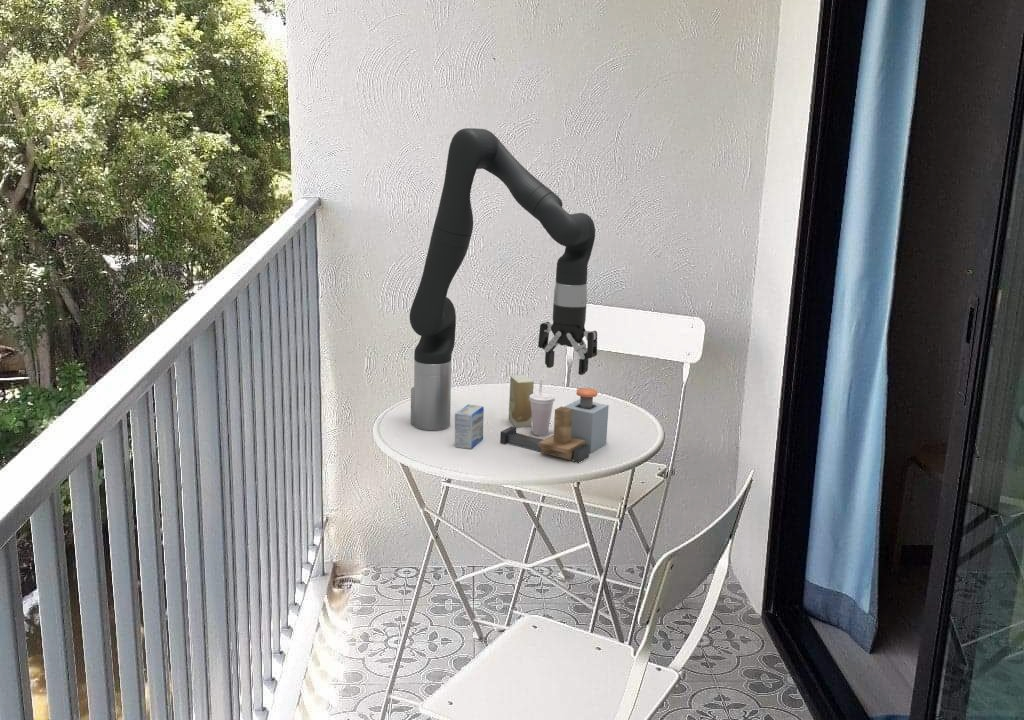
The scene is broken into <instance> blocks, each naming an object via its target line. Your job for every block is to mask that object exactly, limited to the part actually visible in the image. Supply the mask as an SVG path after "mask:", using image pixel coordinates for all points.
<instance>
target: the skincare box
mask: <svg viewBox="0 0 1024 720" xmlns="http://www.w3.org/2000/svg"><path fill="white" fill-rule="evenodd" d="M509 380H510V383H509V398H508V399H509V403H508V406H509V407H508V418H507V419H508V421H509V422H510V423H511V424H512V425H513V427H516V428H525V427H526V428H527V427H531V426H532V414H531V401H530V400H529V396H530V395H531V394H533V393H534V385H535V384H534V380H532V379H531V378H530V377H529V376H528V375H526V374H519V375H517V374H515V375H510V379H509Z"/></svg>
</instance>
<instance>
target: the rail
mask: <svg viewBox="0 0 1024 720" xmlns="http://www.w3.org/2000/svg"><path fill="white" fill-rule="evenodd" d="M499 433H500V435H499V442H500V445H501V444H502V445H507V444H508V445H512V446H515V447H520V448H524V449H528V450H530V451H531V450H532V451H536V452H540V453H541V447H539V442H541V441H543V440H544V439H543V438H539V437H534V436H530V435H528V434H523V433H522V434H521V433H518V432H517V427H515V426H514V425H513V426H509V427H507V428H505V429H503V430H501V431H500V432H499ZM589 447H590V445H587V444H583V445H582V446H580V447H578V448H576V449H575V450H574V451H573V455H572V459H571V460H570V461H573V463H575V462H577V463H576V464H580V463H582V462H583V461H585V460H586V458H587V459H588V458H590V453H589ZM584 459H585V460H584ZM581 461H582V462H581ZM579 462H580V463H579Z"/></svg>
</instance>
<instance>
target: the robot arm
mask: <svg viewBox="0 0 1024 720" xmlns="http://www.w3.org/2000/svg"><path fill="white" fill-rule="evenodd" d="M511 153H512V152H510V151H509V150H508V148H507V147H506V146H505V145H504V144H503V143H502V141H501V140H500V139H499V138H498V137H497V136H496V135H495V134H494V133H493V132H492V131H490V130H487V129H485V128H476V127H475V128H473V127H471V128H469V127H468V128H466V127H465V128H461V129H459V130H458V131H457V132H456V133H455V134H454V135H453V137H452V138H451V142H450V144H449V147H448V152H447V159H446V160H447V161H446V167H445V175H444V181H443V186H442V191H441V195H440V199H439V205H438V208H437V213H436V216H435V221H434V224H433V228H432V232H431V235H430V236H431V237H430V240H429V241H430V242H429V246H428V248H427V249H428V250H427V253H426V258H425V263H424V266H423V272H422V274H421V278H420V282H419V285H418V287H417V291H416V293H415V296H414V298H413V302H412V304H411V307H410V311H409V323H410V325H411V328H412V330H413V332H414V333H416V334H417V335H418V336H419V337H420V339H419V341H418V344H417V345H416V347H415V348H414V352H413V354H414V355H413V356H414V357H413V359H414V360H413V361H414V362H413V363H414V366H413V375H414V376H413V379H414V380H413V387H411V389H410V425H413V426H414V427H415V428H416V429H419V430H424V431H439V430H441V431H442V430H445V429H447V428H449V427H451V406H452V404H451V403H452V401H451V400H452V397H451V396H452V395H451V394H452V391H451V390H452V387H451V386H452V355H453V351H454V348H455V344H456V342H455V341H456V326H457V325H456V324H457V316H456V315H457V314H456V307H455V305H454V303H453V301H452V300H451V299H450V298H448V295H447V294H448V292H449V288H450V285H451V282H452V281H453V280H454V277H455V276H456V273H457V272H458V270H459V268H460V266H461V265H462V263H463V262H464V259H465V258H466V255H467V252H468V249H469V246H470V243H471V239H472V235H473V231H474V216H473V208H472V202H471V201H472V200H471V194H472V193H471V192H472V185H473V183H474V179H475V175H476V172H477V170H481V169H482V170H485V171H487V172H488V173H490V174H491V175H493V176H495V177H496V178H497V179H499V180H500V181H501V182H502V183H503V184H504V185H505V186H506V189H508V191H509V193H510V194H511V195H512V197H513V199H514V200H515V201H516V203H517V204H519V205H520V206H521V208H523V209H524V210H525V211H526V212H527V213H528V214H530V215H531V216H532V217H533V218H535V219H536V220H537V221H538V222H540V224H541V226H542V228H544V230H545V231H546V233H547V234H548V235H549V236H550V237H551V239H552V240H553V241H555V243H557V244H559V245H561V246H563V247H565V249H564V253H563V254H562V255H561V256H560V257H559V258H558V259H557V262H556V271H555V272H556V273H555V285H554V289H553V302H552V303H553V305H552V321H553V322H552V323H550V322H549V321H545V322H542V323H540V325H539V335H538V341H537V344H538V345H537V347H538V349H542V350H544V351H545V353H544V354H545V355H544V364H545V366H546V368H548V369H550V368H553V367H554V366H555V351H556V350H555V348H556V347H558V345H560V346H566V347H570V348H573V349H574V351H575V352H577V354H578V356H579V359H578V360H579V361H578V375H580V376H582V375H585V374H586V373H587V372H588V370H589V368H588V367H589V360H590V359H592V358H594V357H597V355H598V332H597V330H592V331H590V330H586V328H585V327H586V326H585V324H586V321H587V319H586V317H587V304H588V286H587V285H588V284H587V283H588V282H587V281H588V267H589V266H588V264H589V261H590V258H591V255H592V251H593V247H594V245H595V240H596V227H595V223H594V220H593V218H592V217H591V216H590V215H588V214H587V213H584V212H577V213H572V214H570V213H569V212H568V211H566V210H565V209H564V207H563V202H562V199H561V197H560V196H558V195H557V194H556V193H555V192H554V191H553V190H551V189H550V188H549V187H548V186H547V185H546V184H544V183H543V182H541V181H540V180H539V179H538V178H536V177H535V176H534V175H533V174H532V173H531V172H529V171H528V170H527V168H525V166H523V165H522V164H521V163H520V162H519V161H518V160H517V159H516V157H514V155H512V154H511ZM550 332H552V334H553V337H552V338H551V339H550V341H549V337H550ZM584 337H585V340H586V342H587V344H586V343H585V341H584V339H583V338H584Z"/></svg>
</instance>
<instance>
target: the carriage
mask: <svg viewBox="0 0 1024 720" xmlns="http://www.w3.org/2000/svg"><path fill="white" fill-rule="evenodd" d="M553 421H554V422H553V423H554V424H553V434H552V435H550V436H548V437H546V438H545V439H543V441H541V442H539V447H541V452H540V453H542V454H545V455H550V456H553V457H558V458H562V459H565V460H568V461H572V460H571V459H572V455H573V451H574V450H575V449H576V448H578V447H580V446H582V445H583V444H585V440H581V439H577V438H573V437H571V426H572V409H571V408H566V407H564V406H560V407H556V408H555V409H554V420H553Z"/></svg>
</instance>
